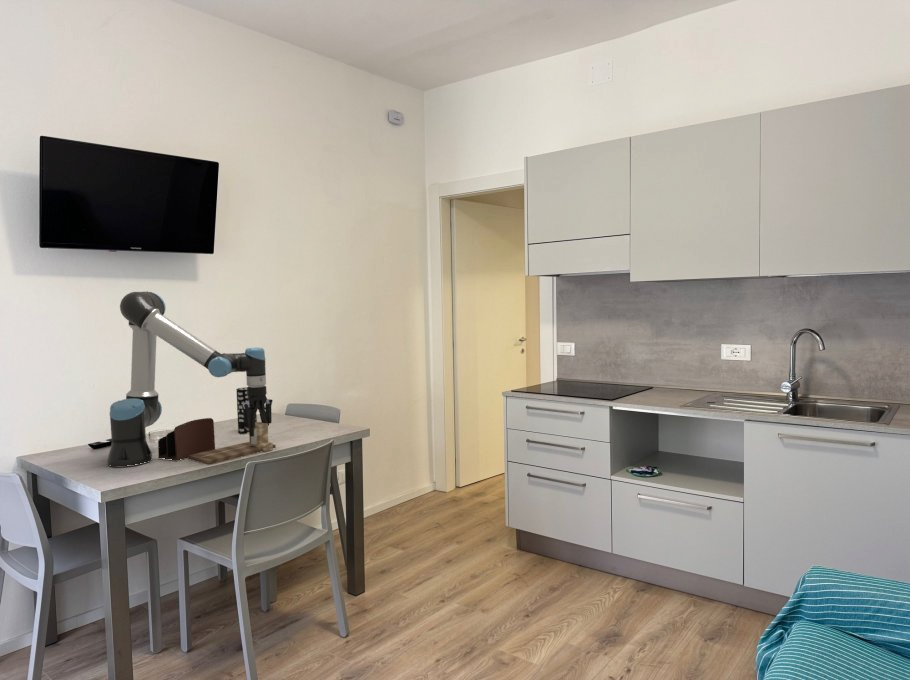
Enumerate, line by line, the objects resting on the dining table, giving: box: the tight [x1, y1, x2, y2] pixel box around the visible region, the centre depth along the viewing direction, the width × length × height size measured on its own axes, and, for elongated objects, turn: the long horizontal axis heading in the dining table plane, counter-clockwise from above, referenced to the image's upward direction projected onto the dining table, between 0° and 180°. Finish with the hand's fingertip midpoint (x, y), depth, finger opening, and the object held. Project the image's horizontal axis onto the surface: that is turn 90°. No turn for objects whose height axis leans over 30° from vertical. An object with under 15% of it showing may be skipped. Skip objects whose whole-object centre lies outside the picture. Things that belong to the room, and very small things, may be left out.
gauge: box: [244, 421, 274, 452], centre depth 264 cm, size 4×15×10 cm, turn 53°
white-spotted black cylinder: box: [236, 386, 258, 435], centre depth 296 cm, size 8×8×20 cm
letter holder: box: [157, 417, 216, 461], centre depth 257 cm, size 10×20×14 cm, turn 156°
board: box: [188, 440, 277, 465], centre depth 256 cm, size 30×14×2 cm, turn 143°
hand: (258, 442), depth 263 cm, fingers closed on gauge, 4 cm apart
